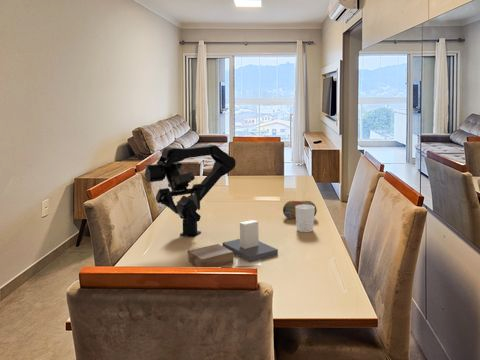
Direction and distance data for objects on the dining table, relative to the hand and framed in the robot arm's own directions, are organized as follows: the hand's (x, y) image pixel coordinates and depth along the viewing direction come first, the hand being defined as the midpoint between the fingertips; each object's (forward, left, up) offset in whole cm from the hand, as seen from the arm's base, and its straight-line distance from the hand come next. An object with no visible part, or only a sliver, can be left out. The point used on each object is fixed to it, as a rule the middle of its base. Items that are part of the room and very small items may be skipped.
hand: (188, 211), depth 170 cm
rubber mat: (-3, +23, -14) cm, 27 cm away
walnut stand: (+12, +15, -14) cm, 24 cm away
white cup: (-35, +35, -14) cm, 51 cm away
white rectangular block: (-3, +23, -12) cm, 26 cm away
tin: (-51, +28, -14) cm, 60 cm away
